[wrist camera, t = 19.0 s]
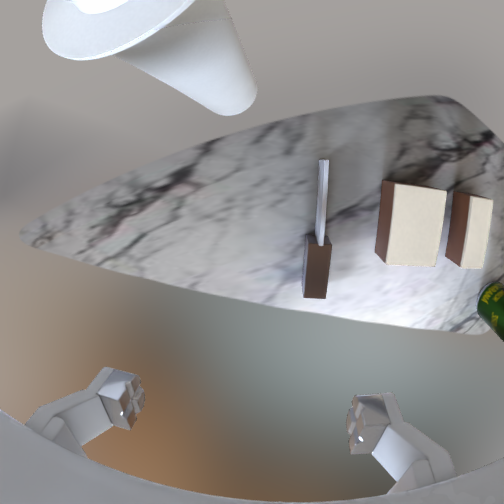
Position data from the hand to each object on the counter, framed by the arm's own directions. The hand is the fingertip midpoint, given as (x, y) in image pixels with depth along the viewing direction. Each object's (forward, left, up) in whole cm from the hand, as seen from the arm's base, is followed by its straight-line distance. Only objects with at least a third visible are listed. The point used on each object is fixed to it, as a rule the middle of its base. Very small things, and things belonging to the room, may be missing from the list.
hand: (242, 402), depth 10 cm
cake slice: (-3, +22, -21) cm, 30 cm away
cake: (-3, +14, -21) cm, 25 cm away
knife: (-2, +5, -21) cm, 22 cm away
